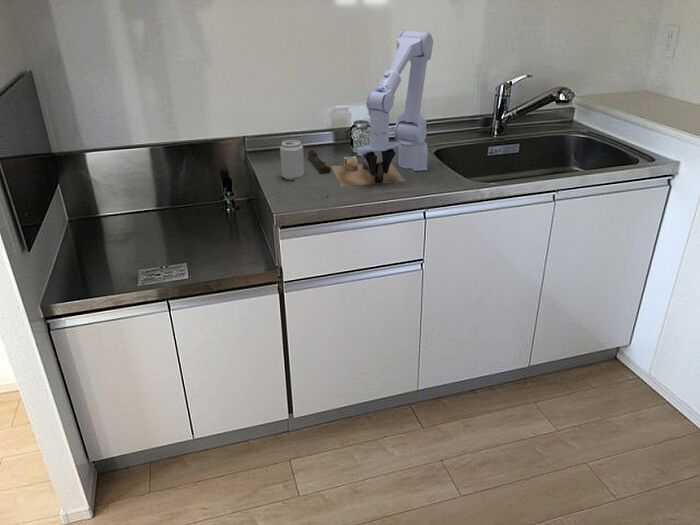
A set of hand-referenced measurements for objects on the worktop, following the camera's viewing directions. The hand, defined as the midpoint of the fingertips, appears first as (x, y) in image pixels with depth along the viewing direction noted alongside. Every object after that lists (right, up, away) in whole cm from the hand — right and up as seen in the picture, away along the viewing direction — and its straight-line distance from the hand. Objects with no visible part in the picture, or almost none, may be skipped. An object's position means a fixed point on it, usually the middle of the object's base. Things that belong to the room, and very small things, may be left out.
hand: (379, 173), depth 184 cm
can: (-28, 0, +10) cm, 30 cm away
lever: (-1, +1, +8) cm, 8 cm away
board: (-4, 0, +9) cm, 10 cm away
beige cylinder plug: (-8, +3, +12) cm, 15 cm away
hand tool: (-21, +4, +17) cm, 28 cm away
